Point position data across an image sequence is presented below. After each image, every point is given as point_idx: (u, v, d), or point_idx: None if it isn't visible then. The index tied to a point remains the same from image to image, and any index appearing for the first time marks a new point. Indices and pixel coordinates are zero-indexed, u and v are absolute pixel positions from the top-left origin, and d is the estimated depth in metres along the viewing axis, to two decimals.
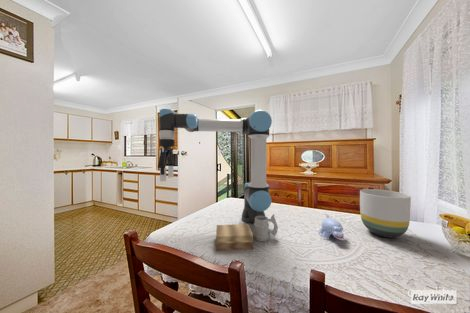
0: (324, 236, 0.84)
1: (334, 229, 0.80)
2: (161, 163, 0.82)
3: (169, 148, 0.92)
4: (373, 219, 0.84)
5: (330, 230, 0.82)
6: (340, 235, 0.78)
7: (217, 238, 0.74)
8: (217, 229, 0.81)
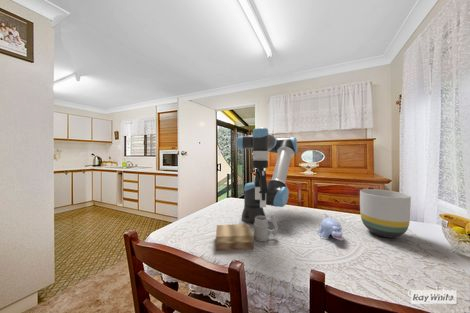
0: (323, 236, 0.84)
1: (333, 229, 0.80)
2: (264, 188, 0.75)
3: None
4: (373, 219, 0.84)
5: (329, 230, 0.83)
6: (339, 235, 0.78)
7: (217, 238, 0.74)
8: (217, 229, 0.81)
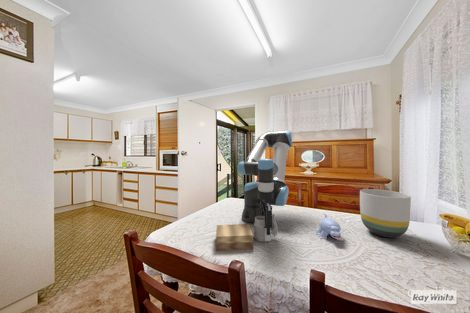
0: (322, 236, 0.85)
1: (331, 229, 0.80)
2: (270, 224, 0.78)
3: None
4: (373, 219, 0.84)
5: (328, 230, 0.83)
6: (337, 235, 0.78)
7: (217, 238, 0.74)
8: (217, 229, 0.81)
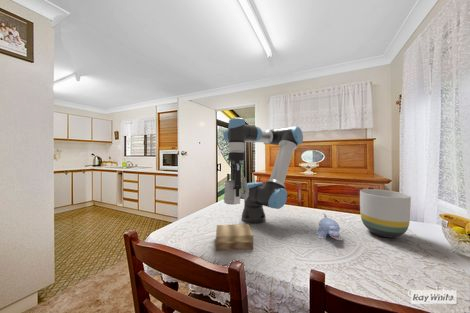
0: (321, 235, 0.85)
1: (330, 228, 0.81)
2: (238, 184, 0.73)
3: None
4: (373, 219, 0.84)
5: (326, 229, 0.83)
6: (336, 234, 0.78)
7: (217, 238, 0.74)
8: (217, 229, 0.81)
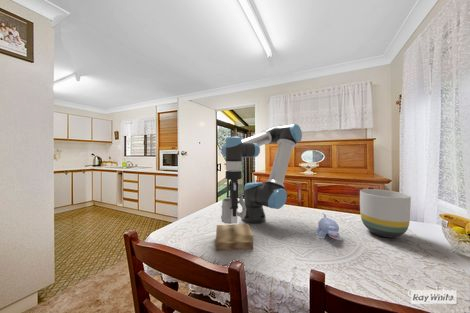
0: (320, 235, 0.85)
1: (329, 228, 0.81)
2: (235, 205, 0.73)
3: None
4: (373, 219, 0.84)
5: (326, 229, 0.83)
6: (335, 234, 0.78)
7: (217, 238, 0.74)
8: (217, 229, 0.81)
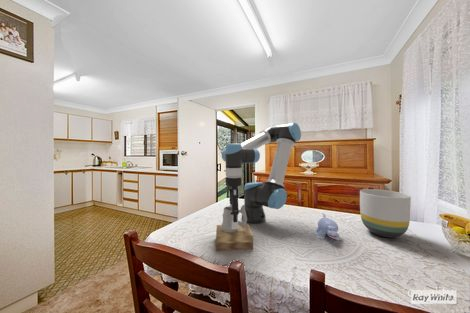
0: (319, 235, 0.85)
1: (328, 228, 0.81)
2: (235, 210, 0.71)
3: None
4: (373, 219, 0.84)
5: (325, 229, 0.83)
6: (334, 234, 0.78)
7: (217, 238, 0.74)
8: (217, 229, 0.81)
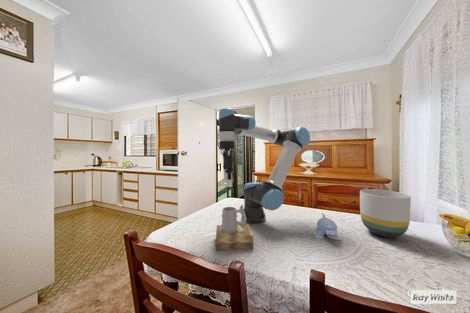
0: (318, 235, 0.86)
1: (327, 228, 0.81)
2: (230, 167, 0.76)
3: None
4: (373, 219, 0.84)
5: (324, 229, 0.84)
6: (333, 234, 0.79)
7: (217, 238, 0.74)
8: (217, 229, 0.81)
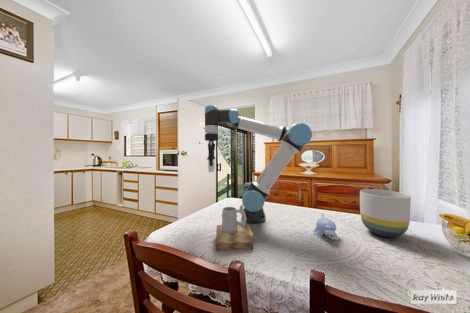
0: (317, 234, 0.86)
1: (326, 228, 0.81)
2: (211, 155, 0.89)
3: (213, 142, 0.99)
4: (373, 219, 0.84)
5: (323, 229, 0.84)
6: (331, 234, 0.79)
7: (217, 238, 0.74)
8: (217, 229, 0.81)
